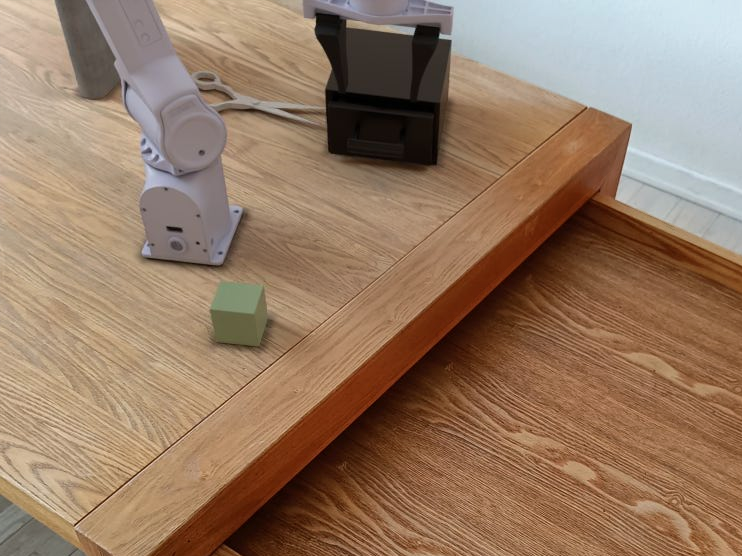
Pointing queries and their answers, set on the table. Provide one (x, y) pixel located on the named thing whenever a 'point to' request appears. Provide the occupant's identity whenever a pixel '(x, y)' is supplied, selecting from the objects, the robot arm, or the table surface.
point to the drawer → (381, 131)
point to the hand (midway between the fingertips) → (379, 93)
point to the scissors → (245, 98)
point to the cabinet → (393, 76)
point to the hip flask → (87, 49)
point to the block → (239, 313)
